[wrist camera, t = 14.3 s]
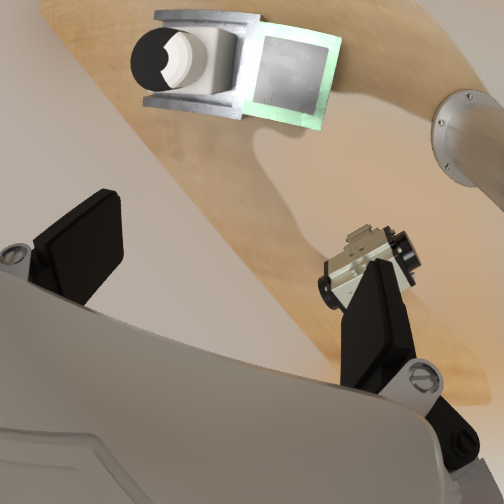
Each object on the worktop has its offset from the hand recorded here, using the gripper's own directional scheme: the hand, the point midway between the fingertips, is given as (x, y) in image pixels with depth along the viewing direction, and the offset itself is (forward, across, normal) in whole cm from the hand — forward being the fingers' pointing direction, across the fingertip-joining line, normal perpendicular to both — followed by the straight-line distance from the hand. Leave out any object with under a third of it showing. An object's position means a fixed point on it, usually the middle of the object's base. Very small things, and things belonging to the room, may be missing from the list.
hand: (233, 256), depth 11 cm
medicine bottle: (+28, +12, -6) cm, 31 cm away
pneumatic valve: (+28, -12, +12) cm, 33 cm away
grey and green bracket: (+28, +8, -6) cm, 30 cm away
